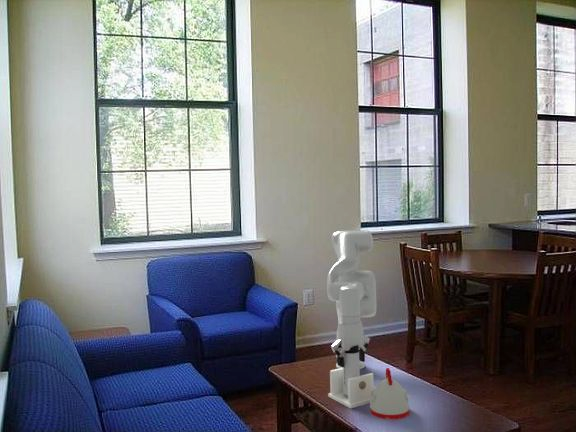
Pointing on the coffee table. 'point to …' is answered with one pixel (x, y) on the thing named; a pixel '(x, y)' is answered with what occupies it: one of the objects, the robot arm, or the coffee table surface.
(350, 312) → the robot arm
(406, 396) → the kitchen timer
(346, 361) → the travel mug
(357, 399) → the holder
